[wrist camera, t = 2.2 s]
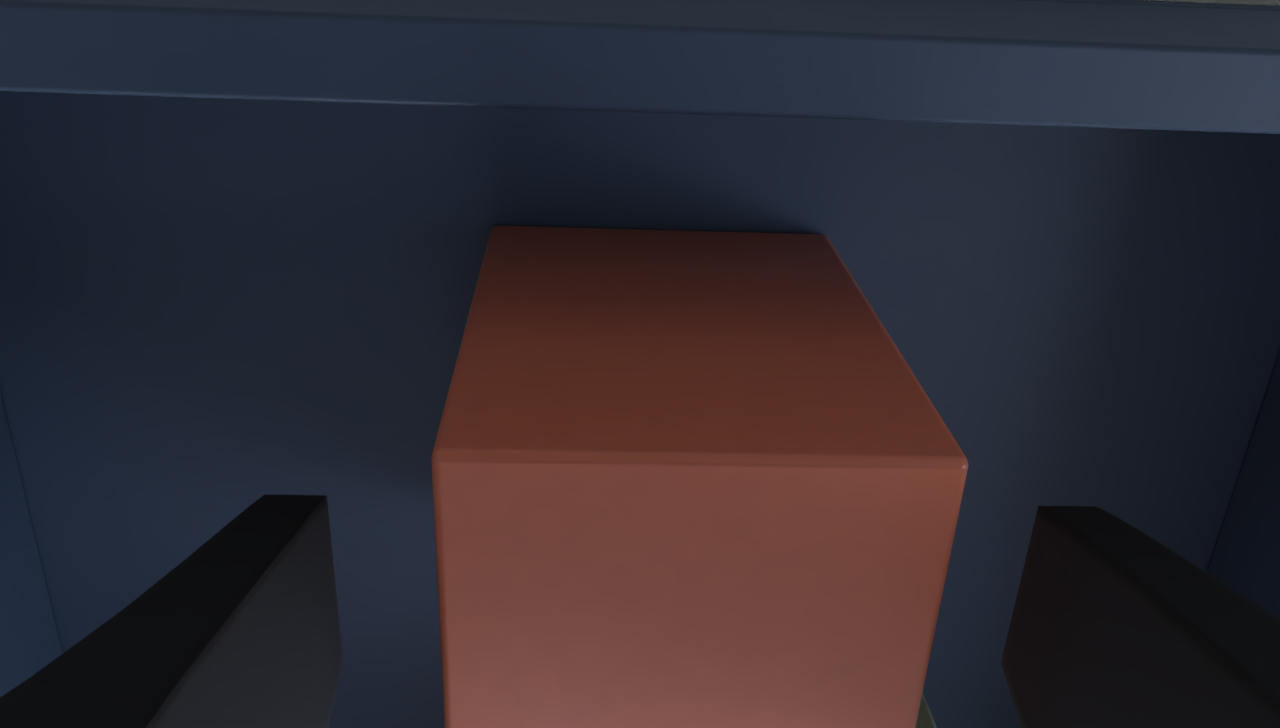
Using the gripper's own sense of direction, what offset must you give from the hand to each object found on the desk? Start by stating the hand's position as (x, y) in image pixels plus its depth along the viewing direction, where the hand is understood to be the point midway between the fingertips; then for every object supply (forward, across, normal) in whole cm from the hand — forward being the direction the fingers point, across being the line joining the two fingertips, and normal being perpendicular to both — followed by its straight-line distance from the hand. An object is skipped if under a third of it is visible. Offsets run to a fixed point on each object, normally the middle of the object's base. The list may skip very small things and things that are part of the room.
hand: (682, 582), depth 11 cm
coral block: (+5, 0, 0) cm, 5 cm away
